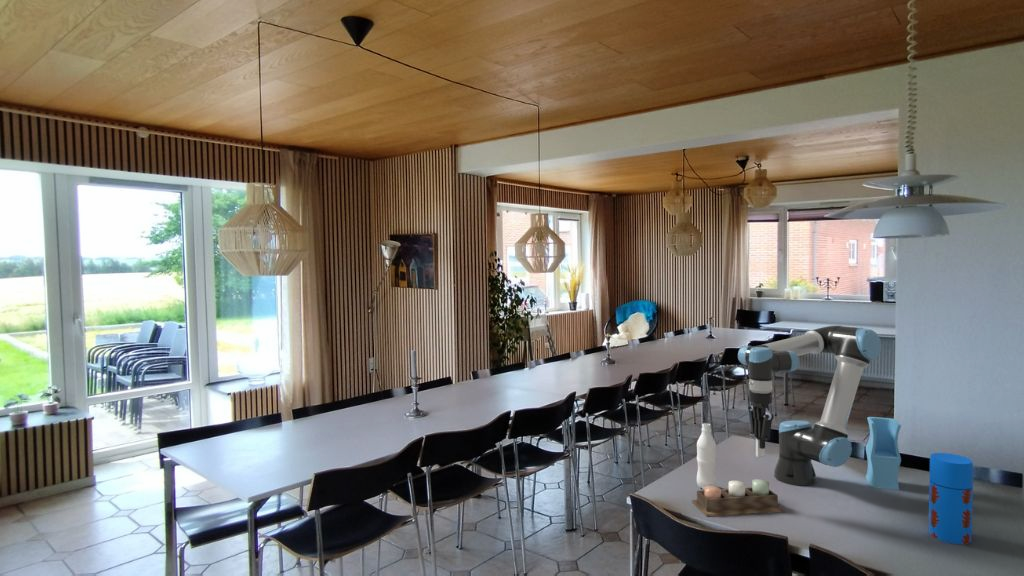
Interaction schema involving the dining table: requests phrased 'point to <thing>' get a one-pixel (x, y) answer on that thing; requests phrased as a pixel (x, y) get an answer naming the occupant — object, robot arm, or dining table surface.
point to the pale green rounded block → (760, 487)
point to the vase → (883, 453)
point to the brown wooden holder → (737, 503)
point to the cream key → (736, 489)
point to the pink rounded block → (712, 492)
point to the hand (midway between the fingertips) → (760, 456)
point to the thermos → (950, 498)
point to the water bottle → (706, 458)
